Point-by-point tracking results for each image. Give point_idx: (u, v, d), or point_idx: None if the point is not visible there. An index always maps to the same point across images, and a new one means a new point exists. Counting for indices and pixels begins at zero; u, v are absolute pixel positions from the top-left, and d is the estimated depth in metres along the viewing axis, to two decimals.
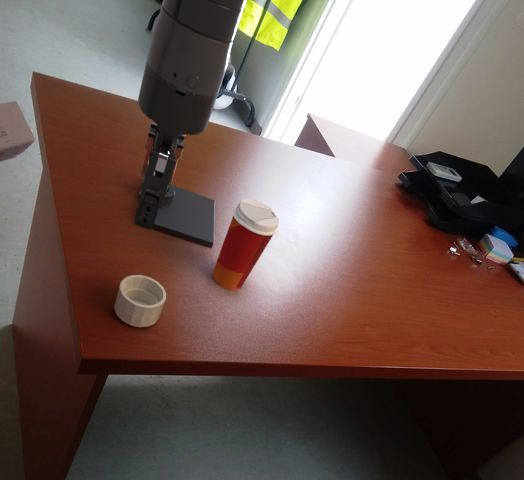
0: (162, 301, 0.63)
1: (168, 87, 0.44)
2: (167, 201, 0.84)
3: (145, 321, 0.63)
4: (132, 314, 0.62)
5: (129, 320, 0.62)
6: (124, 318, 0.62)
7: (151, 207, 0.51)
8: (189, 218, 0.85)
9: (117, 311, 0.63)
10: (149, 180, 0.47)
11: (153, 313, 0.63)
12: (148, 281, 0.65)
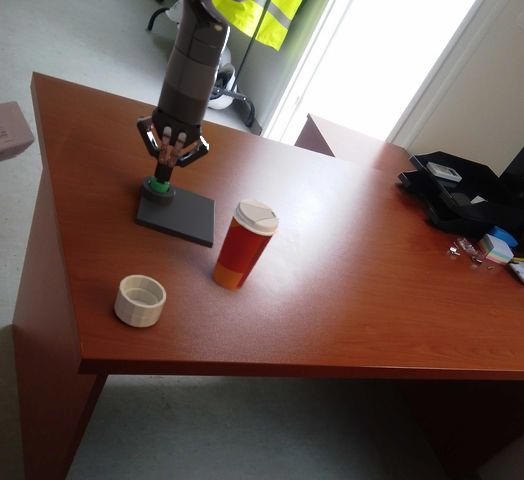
0: (162, 301, 0.63)
1: (208, 101, 0.73)
2: (167, 201, 0.84)
3: (145, 321, 0.63)
4: (132, 314, 0.62)
5: (129, 320, 0.62)
6: (124, 318, 0.62)
7: None
8: (189, 218, 0.85)
9: (117, 311, 0.63)
10: None
11: (153, 313, 0.63)
12: (148, 281, 0.65)
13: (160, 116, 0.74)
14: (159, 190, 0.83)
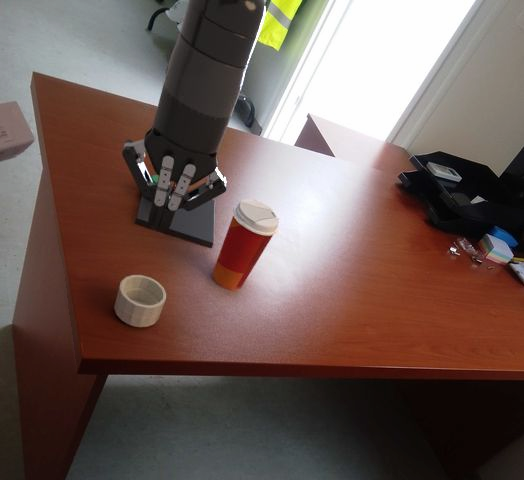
0: (162, 301, 0.63)
1: (229, 119, 0.49)
2: None
3: (145, 321, 0.63)
4: (132, 314, 0.62)
5: (129, 320, 0.62)
6: (124, 318, 0.62)
7: None
8: (189, 218, 0.85)
9: (117, 311, 0.63)
10: None
11: (153, 313, 0.63)
12: (148, 281, 0.65)
13: (157, 141, 0.50)
14: None
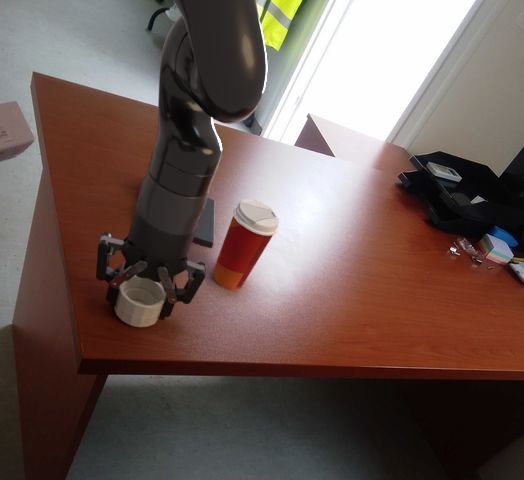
0: (162, 301, 0.63)
1: (195, 232, 0.55)
2: None
3: (145, 321, 0.63)
4: (132, 314, 0.62)
5: (129, 320, 0.62)
6: (124, 318, 0.62)
7: None
8: None
9: (117, 311, 0.63)
10: None
11: (153, 313, 0.63)
12: (148, 281, 0.65)
13: (134, 250, 0.56)
14: None
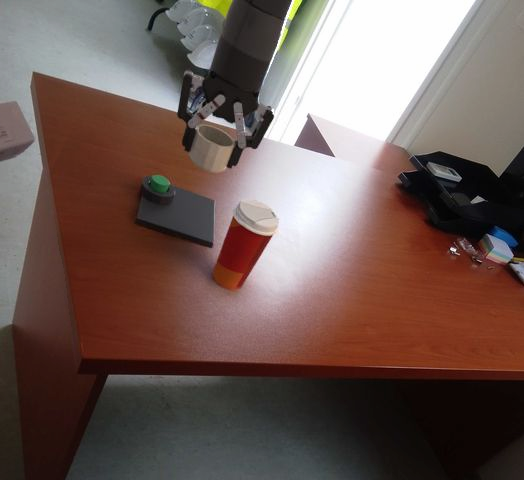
0: (232, 145, 0.69)
1: (270, 64, 0.62)
2: (167, 201, 0.84)
3: (217, 164, 0.70)
4: (206, 154, 0.68)
5: (203, 162, 0.69)
6: (199, 160, 0.69)
7: None
8: (189, 218, 0.85)
9: (192, 154, 0.69)
10: None
11: (224, 156, 0.69)
12: (218, 132, 0.72)
13: (214, 84, 0.63)
14: (159, 189, 0.83)
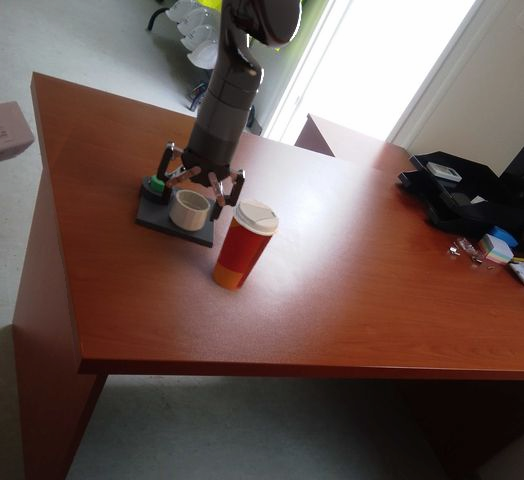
0: (207, 209, 0.81)
1: (238, 142, 0.72)
2: None
3: (194, 224, 0.81)
4: (185, 217, 0.80)
5: (182, 223, 0.81)
6: (178, 221, 0.81)
7: None
8: None
9: (173, 216, 0.81)
10: None
11: (201, 218, 0.81)
12: (196, 195, 0.83)
13: (192, 158, 0.74)
14: (159, 189, 0.83)
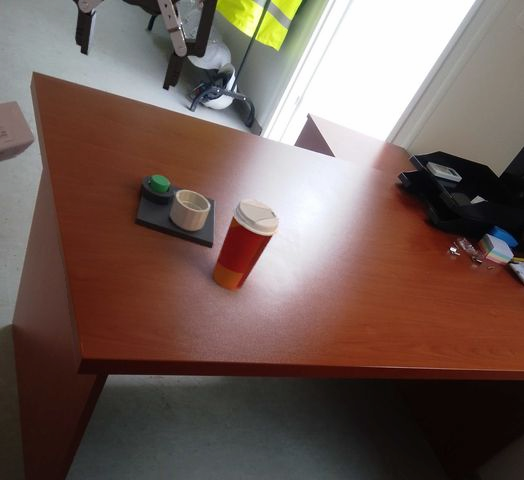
0: (207, 209, 0.81)
1: None
2: (167, 201, 0.84)
3: (194, 224, 0.81)
4: (185, 217, 0.80)
5: (182, 223, 0.81)
6: (178, 221, 0.81)
7: None
8: None
9: (173, 216, 0.81)
10: None
11: (201, 218, 0.81)
12: (196, 195, 0.83)
13: None
14: (159, 189, 0.83)
